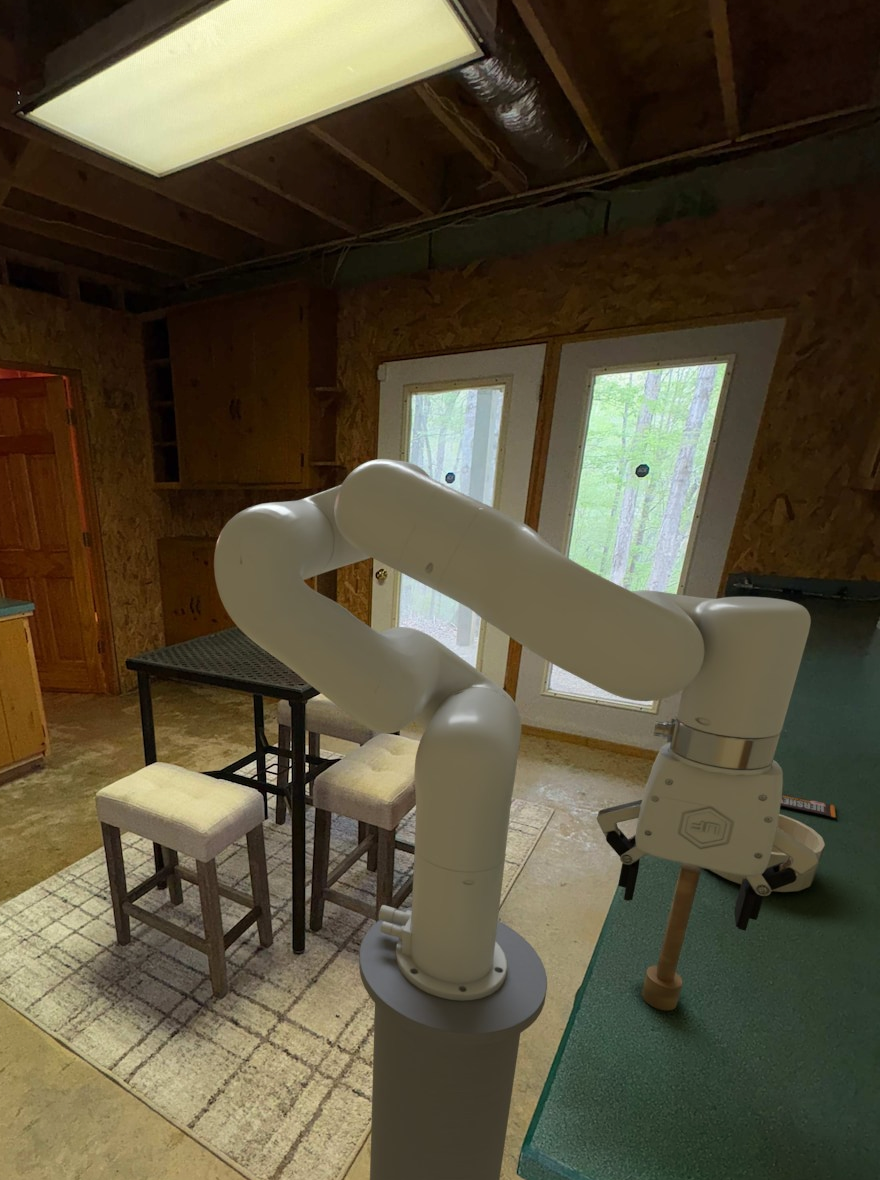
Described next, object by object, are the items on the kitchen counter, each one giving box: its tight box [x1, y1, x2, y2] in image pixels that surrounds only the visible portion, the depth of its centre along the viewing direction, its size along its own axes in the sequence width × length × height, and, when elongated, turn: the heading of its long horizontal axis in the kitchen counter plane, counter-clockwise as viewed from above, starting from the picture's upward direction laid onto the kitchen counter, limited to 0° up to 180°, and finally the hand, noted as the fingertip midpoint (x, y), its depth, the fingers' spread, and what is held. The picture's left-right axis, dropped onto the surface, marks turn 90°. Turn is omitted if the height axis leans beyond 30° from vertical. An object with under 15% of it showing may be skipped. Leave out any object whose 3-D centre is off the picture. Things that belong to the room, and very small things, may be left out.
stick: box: [641, 863, 702, 1012], centre depth 62 cm, size 3×3×16 cm
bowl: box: [710, 813, 826, 893], centre depth 85 cm, size 13×13×6 cm
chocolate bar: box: [780, 793, 837, 818], centre depth 101 cm, size 11×5×1 cm, turn 52°
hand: (682, 906), depth 61 cm, fingers open, 8 cm apart
